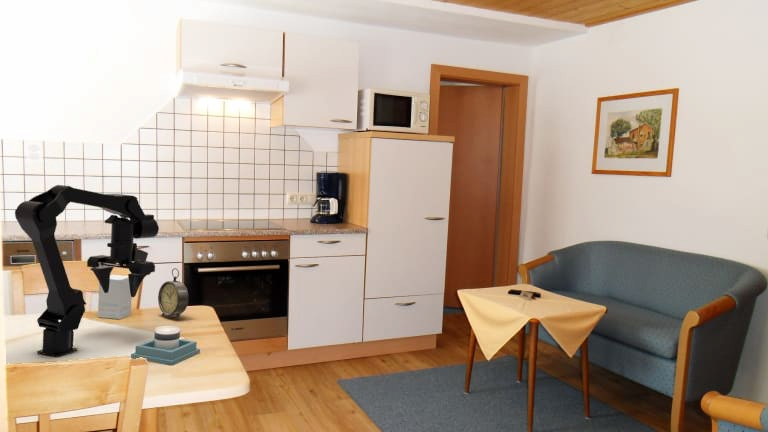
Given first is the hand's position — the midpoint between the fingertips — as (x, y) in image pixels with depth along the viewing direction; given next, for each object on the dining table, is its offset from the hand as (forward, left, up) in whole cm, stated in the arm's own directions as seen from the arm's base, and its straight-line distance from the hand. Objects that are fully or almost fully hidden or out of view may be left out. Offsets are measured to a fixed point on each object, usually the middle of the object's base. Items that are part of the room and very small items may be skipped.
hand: (119, 294), depth 162 cm
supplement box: (+18, +17, -12) cm, 28 cm away
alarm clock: (+26, +1, -12) cm, 29 cm away
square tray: (-7, -21, -12) cm, 25 cm away
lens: (-7, -21, -11) cm, 25 cm away
